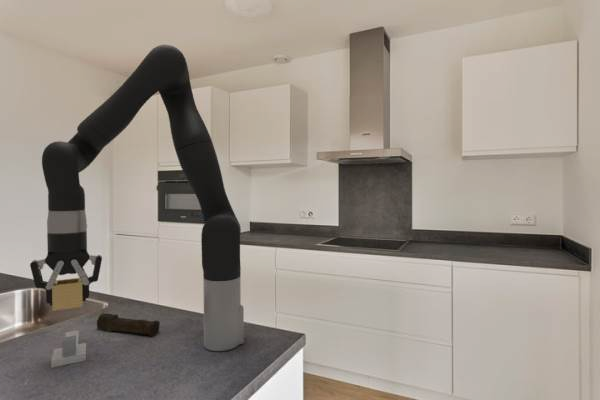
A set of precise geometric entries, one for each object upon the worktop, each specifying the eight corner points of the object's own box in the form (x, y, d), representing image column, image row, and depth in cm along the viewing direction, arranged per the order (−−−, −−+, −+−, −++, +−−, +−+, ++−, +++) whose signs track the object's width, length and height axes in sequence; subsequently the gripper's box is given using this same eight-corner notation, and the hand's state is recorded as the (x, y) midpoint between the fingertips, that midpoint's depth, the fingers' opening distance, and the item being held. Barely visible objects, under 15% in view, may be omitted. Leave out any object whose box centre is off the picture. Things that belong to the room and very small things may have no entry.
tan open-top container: (83, 299, 83) (82, 277, 83) (82, 306, 78) (82, 282, 78) (54, 303, 80) (54, 280, 80) (52, 311, 75) (52, 286, 75)
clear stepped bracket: (86, 333, 93) (86, 316, 93) (85, 360, 79) (85, 340, 78) (58, 338, 90) (57, 321, 90) (51, 367, 75) (50, 347, 75)
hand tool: (161, 333, 94) (160, 316, 94) (151, 339, 90) (150, 321, 90) (105, 325, 99) (105, 309, 99) (93, 331, 95) (93, 314, 95)
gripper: (25, 233, 72) (26, 313, 72) (103, 229, 79) (104, 302, 80) (30, 230, 78) (31, 303, 79) (102, 226, 86) (103, 293, 86)
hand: (68, 302), depth 79 cm, fingers closed on tan open-top container, 5 cm apart
